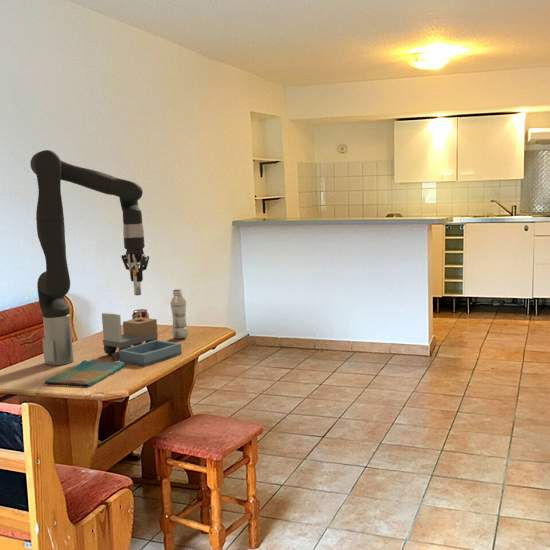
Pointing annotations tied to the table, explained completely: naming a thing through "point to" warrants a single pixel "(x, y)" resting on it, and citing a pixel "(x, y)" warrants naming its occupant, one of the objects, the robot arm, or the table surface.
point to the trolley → (126, 333)
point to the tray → (150, 352)
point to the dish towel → (85, 374)
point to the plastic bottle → (179, 315)
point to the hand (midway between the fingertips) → (136, 281)
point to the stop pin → (136, 284)
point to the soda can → (140, 314)
